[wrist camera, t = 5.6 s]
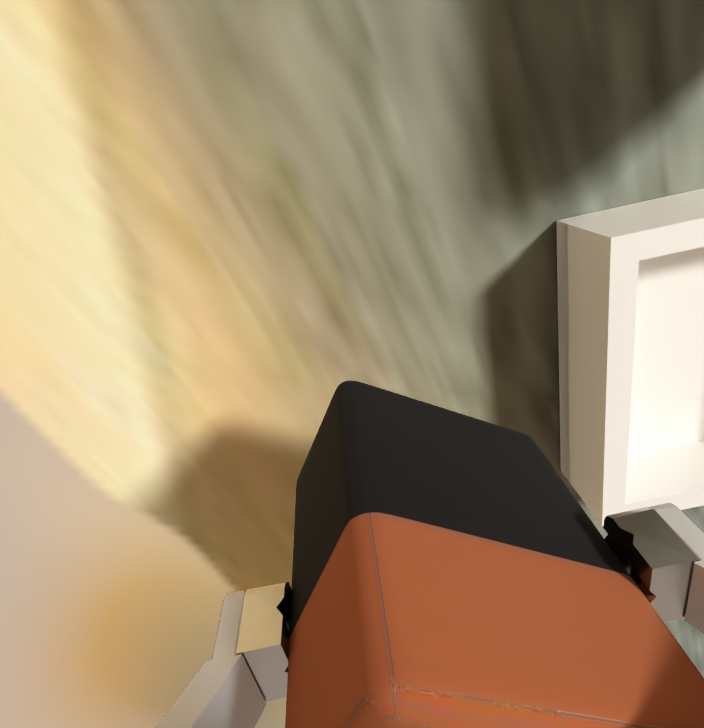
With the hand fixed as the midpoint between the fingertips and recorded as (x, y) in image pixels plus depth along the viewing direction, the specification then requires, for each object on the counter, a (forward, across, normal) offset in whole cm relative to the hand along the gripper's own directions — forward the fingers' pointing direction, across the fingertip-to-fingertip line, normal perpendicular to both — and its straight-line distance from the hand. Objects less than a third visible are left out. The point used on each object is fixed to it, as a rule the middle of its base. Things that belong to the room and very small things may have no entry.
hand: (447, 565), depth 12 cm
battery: (+5, 0, 0) cm, 5 cm away
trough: (+11, -13, +2) cm, 17 cm away
